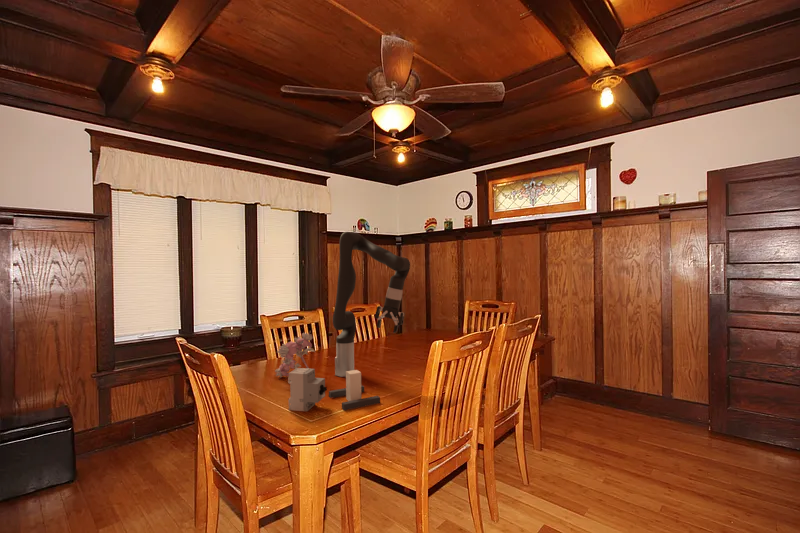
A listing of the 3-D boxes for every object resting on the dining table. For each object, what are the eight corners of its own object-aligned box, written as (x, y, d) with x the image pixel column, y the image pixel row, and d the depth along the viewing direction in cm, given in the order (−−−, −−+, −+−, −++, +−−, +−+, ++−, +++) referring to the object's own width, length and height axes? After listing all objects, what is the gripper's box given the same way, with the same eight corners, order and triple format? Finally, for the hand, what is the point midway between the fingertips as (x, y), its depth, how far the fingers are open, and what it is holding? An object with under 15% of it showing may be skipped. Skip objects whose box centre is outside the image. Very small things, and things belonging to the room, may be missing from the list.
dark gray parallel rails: (362, 390, 178) (362, 385, 178) (380, 403, 162) (380, 397, 162) (328, 396, 171) (328, 391, 171) (344, 410, 154) (343, 404, 154)
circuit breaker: (321, 412, 153) (321, 374, 152) (288, 410, 155) (288, 372, 155) (329, 405, 160) (328, 369, 160) (297, 403, 163) (296, 367, 163)
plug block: (357, 396, 170) (356, 369, 170) (361, 400, 165) (361, 372, 165) (346, 398, 167) (345, 371, 167) (350, 402, 163) (350, 374, 163)
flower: (305, 365, 219) (285, 327, 211) (331, 367, 204) (311, 327, 197) (278, 389, 204) (256, 350, 197) (304, 393, 190) (281, 351, 183)
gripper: (377, 294, 186) (370, 327, 186) (404, 301, 180) (397, 335, 181) (383, 293, 193) (376, 325, 193) (409, 300, 187) (402, 333, 188)
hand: (386, 330), depth 187 cm, fingers open, 8 cm apart
